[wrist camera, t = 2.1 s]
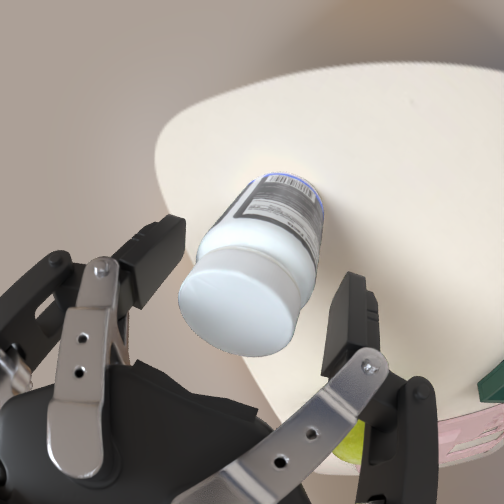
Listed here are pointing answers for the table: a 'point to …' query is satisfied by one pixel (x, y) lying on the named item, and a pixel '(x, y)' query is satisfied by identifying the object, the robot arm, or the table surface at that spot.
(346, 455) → the apple
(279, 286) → the pill bottle
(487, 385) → the tray
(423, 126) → the table surface
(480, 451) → the panel
